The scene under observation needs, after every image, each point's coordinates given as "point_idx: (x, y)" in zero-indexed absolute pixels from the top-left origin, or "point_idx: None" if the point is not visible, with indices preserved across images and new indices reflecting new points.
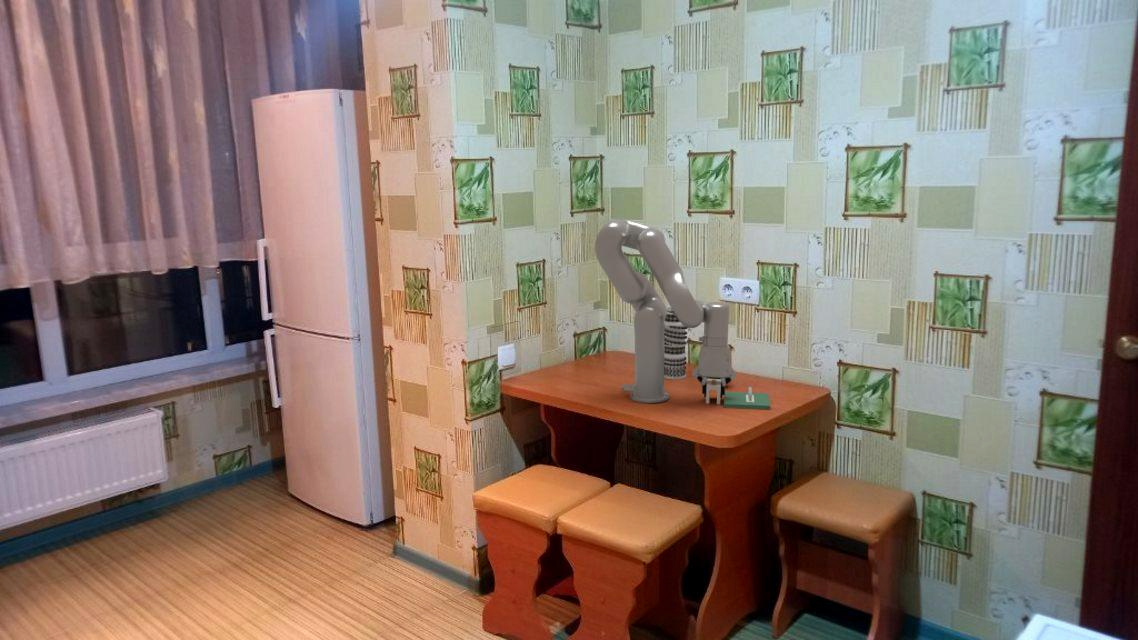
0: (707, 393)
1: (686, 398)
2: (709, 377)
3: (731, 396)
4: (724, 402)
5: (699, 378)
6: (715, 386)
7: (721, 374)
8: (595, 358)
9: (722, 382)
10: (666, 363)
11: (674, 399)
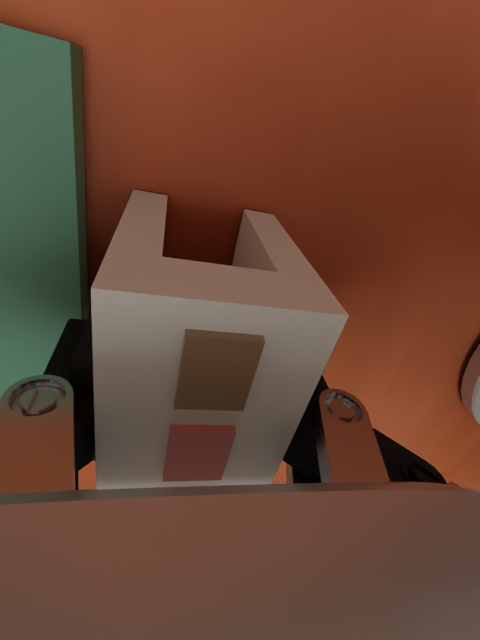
0: (290, 252)
1: (369, 348)
2: None
3: (9, 350)
4: (69, 121)
5: (417, 472)
6: (197, 292)
7: (2, 604)
8: None
9: (59, 427)
10: None
11: (453, 325)
